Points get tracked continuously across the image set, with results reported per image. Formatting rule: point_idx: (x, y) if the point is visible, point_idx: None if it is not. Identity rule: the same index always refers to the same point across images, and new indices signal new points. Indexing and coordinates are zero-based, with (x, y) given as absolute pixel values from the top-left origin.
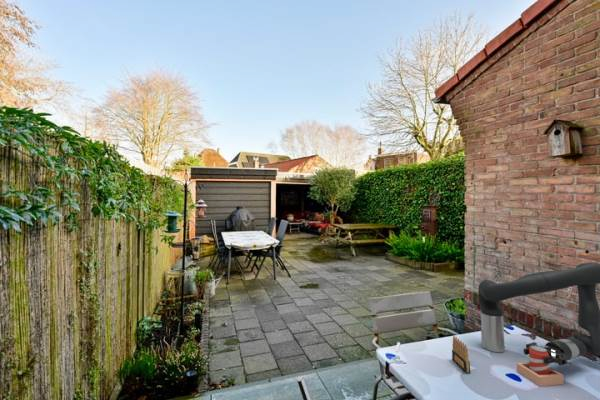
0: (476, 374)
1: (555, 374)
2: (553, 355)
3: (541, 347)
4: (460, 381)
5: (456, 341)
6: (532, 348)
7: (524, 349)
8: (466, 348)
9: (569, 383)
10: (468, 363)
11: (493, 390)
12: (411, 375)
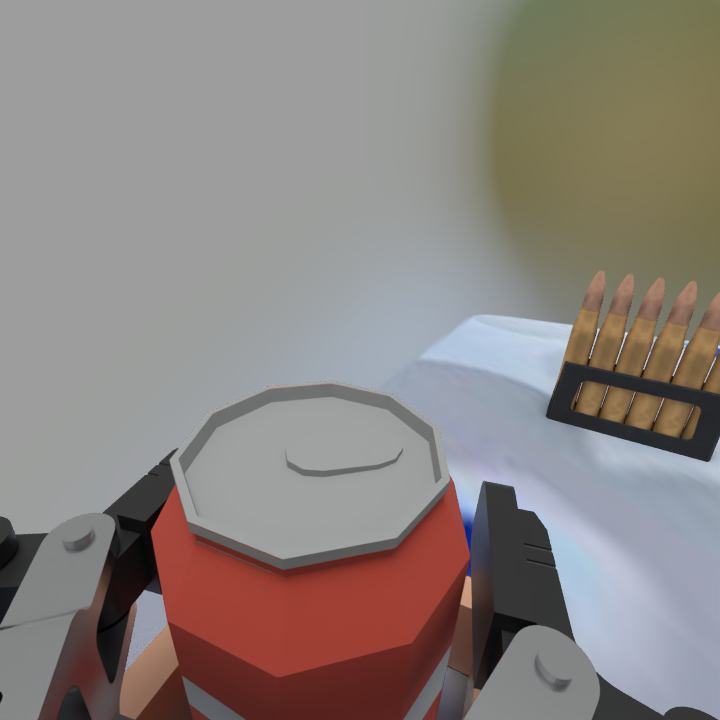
0: (532, 427)
1: (130, 702)
2: (53, 594)
3: (292, 559)
4: (499, 370)
5: (706, 311)
6: (379, 396)
7: (504, 486)
8: (587, 291)
9: None
10: (561, 369)
11: (408, 390)
12: (565, 332)
